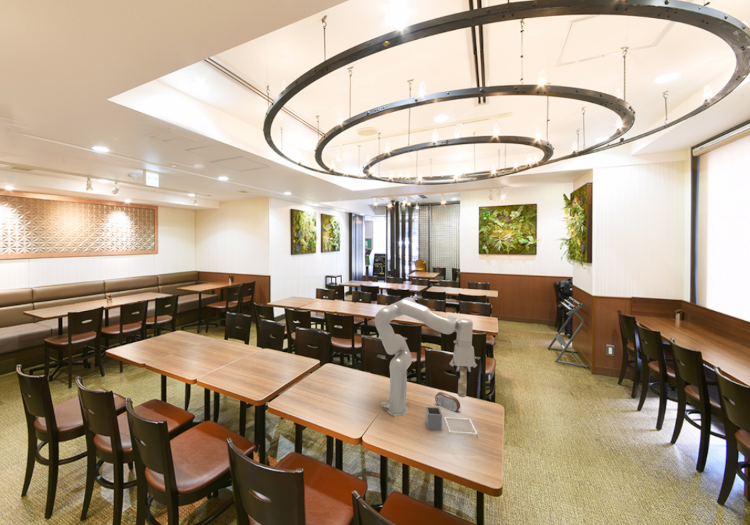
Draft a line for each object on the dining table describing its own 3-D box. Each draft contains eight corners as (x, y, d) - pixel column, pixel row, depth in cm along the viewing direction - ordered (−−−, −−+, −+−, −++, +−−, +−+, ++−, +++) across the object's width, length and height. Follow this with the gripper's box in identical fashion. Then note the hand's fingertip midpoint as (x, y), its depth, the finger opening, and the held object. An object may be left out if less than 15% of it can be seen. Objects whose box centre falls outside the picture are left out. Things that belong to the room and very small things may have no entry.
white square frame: (449, 435, 142) (449, 432, 142) (443, 420, 155) (444, 416, 155) (477, 437, 141) (477, 433, 141) (469, 421, 154) (470, 418, 154)
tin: (460, 413, 162) (460, 398, 162) (457, 415, 160) (458, 400, 160) (436, 403, 172) (437, 389, 172) (434, 405, 170) (434, 391, 170)
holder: (427, 431, 144) (428, 414, 144) (425, 423, 151) (426, 406, 151) (441, 432, 144) (442, 415, 144) (438, 424, 151) (439, 407, 151)
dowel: (458, 397, 145) (460, 370, 145) (457, 393, 149) (458, 367, 149) (466, 397, 145) (468, 370, 145) (464, 393, 149) (465, 367, 149)
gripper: (449, 344, 143) (447, 380, 144) (483, 346, 142) (481, 382, 143) (446, 340, 150) (444, 374, 151) (478, 341, 150) (476, 375, 150)
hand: (462, 377), depth 147 cm, fingers closed on dowel, 4 cm apart
